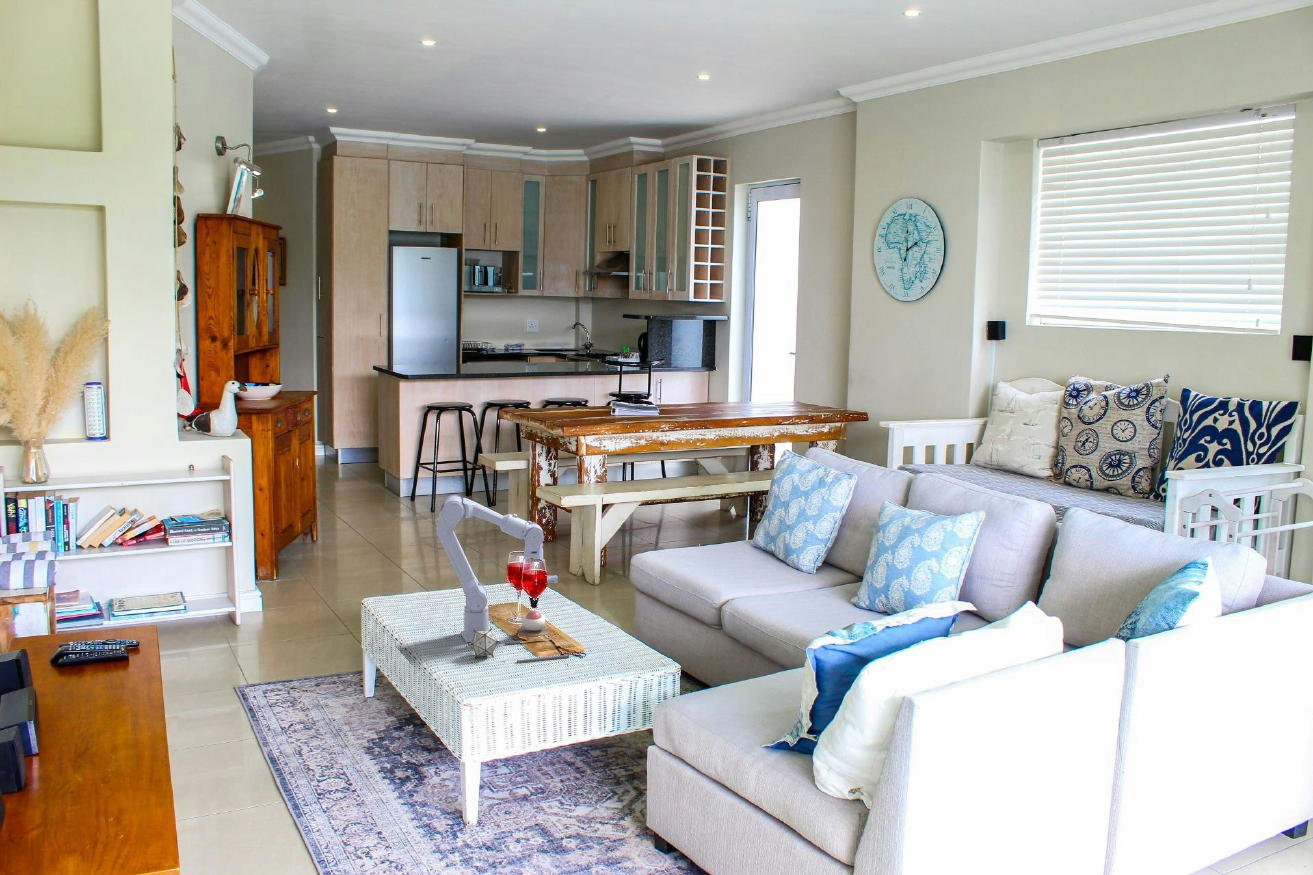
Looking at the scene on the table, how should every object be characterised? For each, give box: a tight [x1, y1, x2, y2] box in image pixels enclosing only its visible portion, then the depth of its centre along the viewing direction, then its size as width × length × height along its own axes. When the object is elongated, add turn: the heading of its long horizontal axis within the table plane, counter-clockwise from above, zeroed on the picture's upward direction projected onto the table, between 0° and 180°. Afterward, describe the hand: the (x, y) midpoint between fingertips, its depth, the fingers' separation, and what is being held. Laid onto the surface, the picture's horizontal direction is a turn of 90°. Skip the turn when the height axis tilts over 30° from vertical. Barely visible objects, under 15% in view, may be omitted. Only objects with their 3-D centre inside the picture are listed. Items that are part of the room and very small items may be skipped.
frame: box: [504, 640, 570, 664], centre depth 306 cm, size 17×15×1 cm
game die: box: [467, 627, 500, 660], centre depth 300 cm, size 9×8×10 cm
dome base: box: [516, 626, 551, 637], centre depth 320 cm, size 10×10×2 cm
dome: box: [521, 610, 546, 630], centre depth 319 cm, size 7×7×5 cm
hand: (533, 607), depth 319 cm, fingers closed
